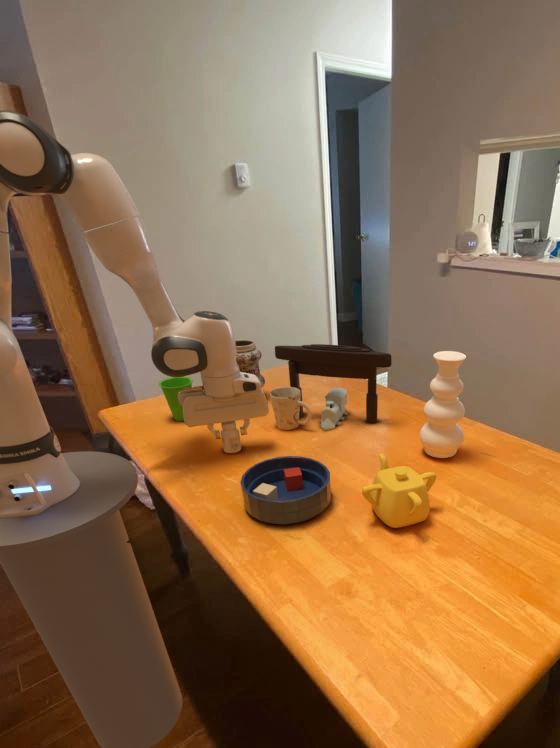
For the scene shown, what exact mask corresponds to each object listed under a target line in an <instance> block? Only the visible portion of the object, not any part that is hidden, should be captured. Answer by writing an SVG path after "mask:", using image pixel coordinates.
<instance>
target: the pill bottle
mask: <svg viewBox="0 0 560 748" xmlns="http://www.w3.org/2000/svg"><path fill="white" fill-rule="evenodd" d="M220 425H221V429H222V430H221V431H220V437H221V443H222V447H223V451H224V453H227V454H236V453H238V452H240V451H241V450H242V442H241V436H240V435H241V434H240V429H238V428H237V422H236V421H229V422H222V423H220Z"/></svg>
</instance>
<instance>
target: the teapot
mask: <svg viewBox="0 0 560 748" xmlns="http://www.w3.org/2000/svg"><path fill="white" fill-rule="evenodd" d="M378 457H379V460H380V469H379V471H377V473H376V475H375V477H374V479H373V482H372V484H368V485H365V486H364V487H362V489H361V493H362V495H363V498H365V500H366V501H368V503H369V504H370V505H371V507H372V509H373V511H374V513H375V515H376V516H377V517H378V519H380V521H382V523H384V524H385V525H386V526H387V527H390V528H392V529H397V528H403V527H407V526H412V525H415V524H419V523H421V522H424V521H425V520H426V519H427V518H428V517H429V514H430V511H431V504H430V495H429V491H430V490H431V488H432V487H433V486H434V484H435V482H436V480H437V474H436V472H434V471H427V472H423V473H421V474H420V473H418V472H417V471H415V470H414V469H413V468H411V467H410V466H407V465H399V466H394V467H390V464H389V462H388V458H387V456H386V455H385V453H383V452H382V451H380V452H378ZM425 480H426V482H425Z"/></svg>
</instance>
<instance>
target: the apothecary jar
mask: <svg viewBox="0 0 560 748" xmlns="http://www.w3.org/2000/svg"><path fill="white" fill-rule="evenodd" d="M235 343H236V350H237V354H236V361H237V364H238V366H239V370H240V372H244V373H249V374H254V375H256V376H257V377H258V379H259V380H260V383H261V388H262V389H263V387H264V386H265V384H266V380H265V377H264V375H263V374H261V371H260V370H261V369H260V363H259V362H260V361H261V359H262V356H263V355H262V352H261V350H260V349H259V348H258V347H257V346H256V343H255V341H254V340H251V339H235Z"/></svg>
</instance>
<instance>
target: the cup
mask: <svg viewBox="0 0 560 748" xmlns="http://www.w3.org/2000/svg"><path fill="white" fill-rule="evenodd" d="M192 384H193V379H192V378H191V377H189V376H183V377H166V378H163V379H162V380H160V381H159V382H158V386H159V387H160V388H161V391H162V393H163V395H164V397H165V398H164V399H165V401H166V402H167V405H168V407H169V409H170V412H171V414H172V417H173V419H174V420H175V421H177V422H184V416H183V407H182V406H181V405H180V404H179V402H178V393H179V392H180V391H181V390H183V389H184V388H192V387H193V385H192ZM182 393H184V392H182Z"/></svg>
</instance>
